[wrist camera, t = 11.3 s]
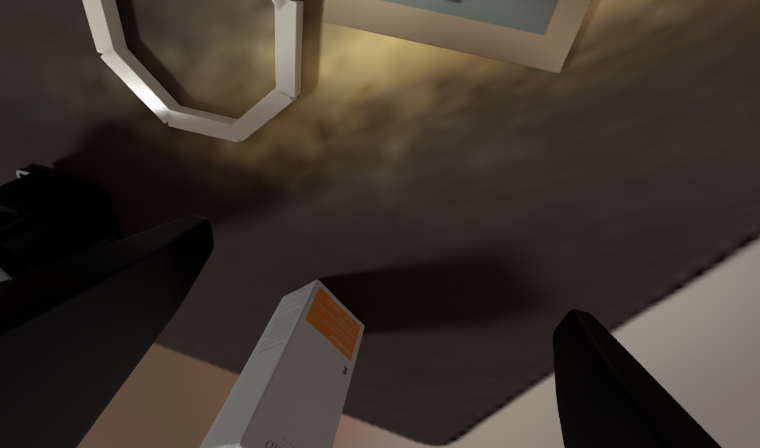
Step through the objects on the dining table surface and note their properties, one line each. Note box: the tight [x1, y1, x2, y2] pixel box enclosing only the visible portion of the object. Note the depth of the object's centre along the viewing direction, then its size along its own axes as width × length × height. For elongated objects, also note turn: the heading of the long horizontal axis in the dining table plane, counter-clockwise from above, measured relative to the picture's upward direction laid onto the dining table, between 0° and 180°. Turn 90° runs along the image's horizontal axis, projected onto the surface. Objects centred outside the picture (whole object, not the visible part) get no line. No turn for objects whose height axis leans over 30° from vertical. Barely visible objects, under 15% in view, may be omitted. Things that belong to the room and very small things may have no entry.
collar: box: [83, 0, 304, 143], centre depth 17 cm, size 11×11×1 cm
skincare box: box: [200, 280, 365, 448], centre depth 24 cm, size 6×4×12 cm
